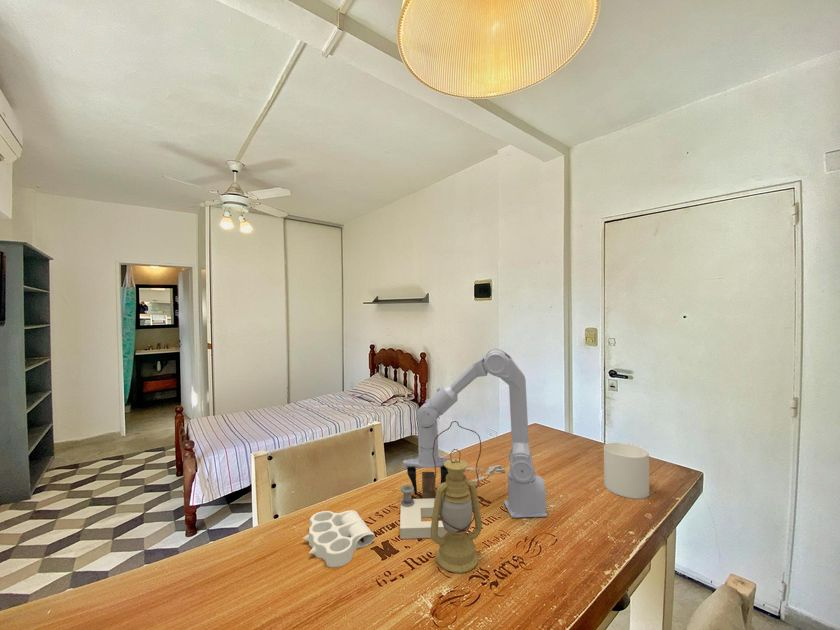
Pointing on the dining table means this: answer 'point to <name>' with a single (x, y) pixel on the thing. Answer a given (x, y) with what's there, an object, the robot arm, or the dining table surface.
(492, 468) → the pliers
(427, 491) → the block
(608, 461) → the cup
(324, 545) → the white holed flat piece
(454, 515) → the lantern
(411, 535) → the slotted board
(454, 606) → the dining table surface
